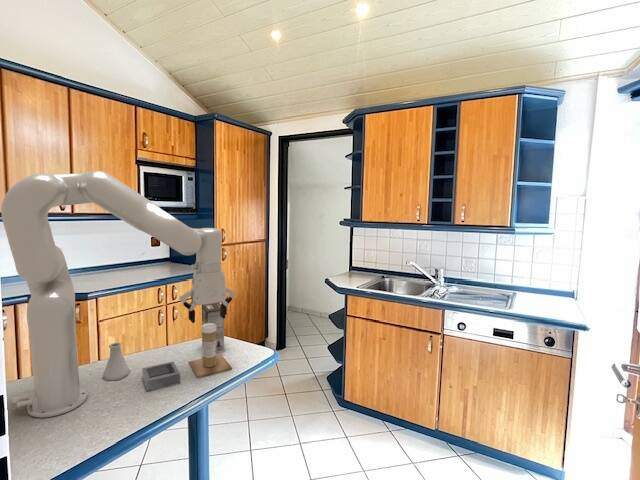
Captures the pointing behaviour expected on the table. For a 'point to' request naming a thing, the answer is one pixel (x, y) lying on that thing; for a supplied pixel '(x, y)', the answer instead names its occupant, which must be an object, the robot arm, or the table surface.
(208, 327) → the sprinkles bottle
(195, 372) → the walnut board
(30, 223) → the robot arm
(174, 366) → the steel collar holder
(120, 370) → the flask
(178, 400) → the table surface
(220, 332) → the coffee box
